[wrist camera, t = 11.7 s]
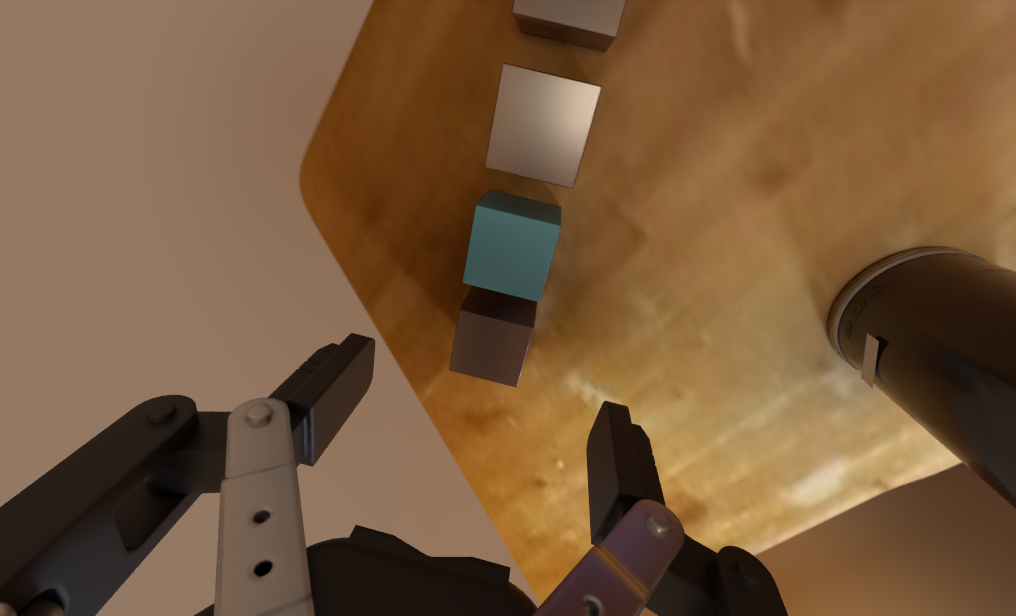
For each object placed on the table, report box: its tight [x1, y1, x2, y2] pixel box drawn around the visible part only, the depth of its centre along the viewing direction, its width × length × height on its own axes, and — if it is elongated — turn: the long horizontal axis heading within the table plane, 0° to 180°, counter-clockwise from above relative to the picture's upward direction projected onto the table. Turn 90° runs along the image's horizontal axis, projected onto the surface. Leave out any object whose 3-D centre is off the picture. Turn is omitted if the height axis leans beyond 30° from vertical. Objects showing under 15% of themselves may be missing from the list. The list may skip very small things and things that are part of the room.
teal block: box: [463, 190, 561, 302], centre depth 26 cm, size 5×5×5 cm
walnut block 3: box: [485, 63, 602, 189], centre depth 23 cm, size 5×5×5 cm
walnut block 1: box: [449, 285, 537, 387], centre depth 29 cm, size 5×5×5 cm
